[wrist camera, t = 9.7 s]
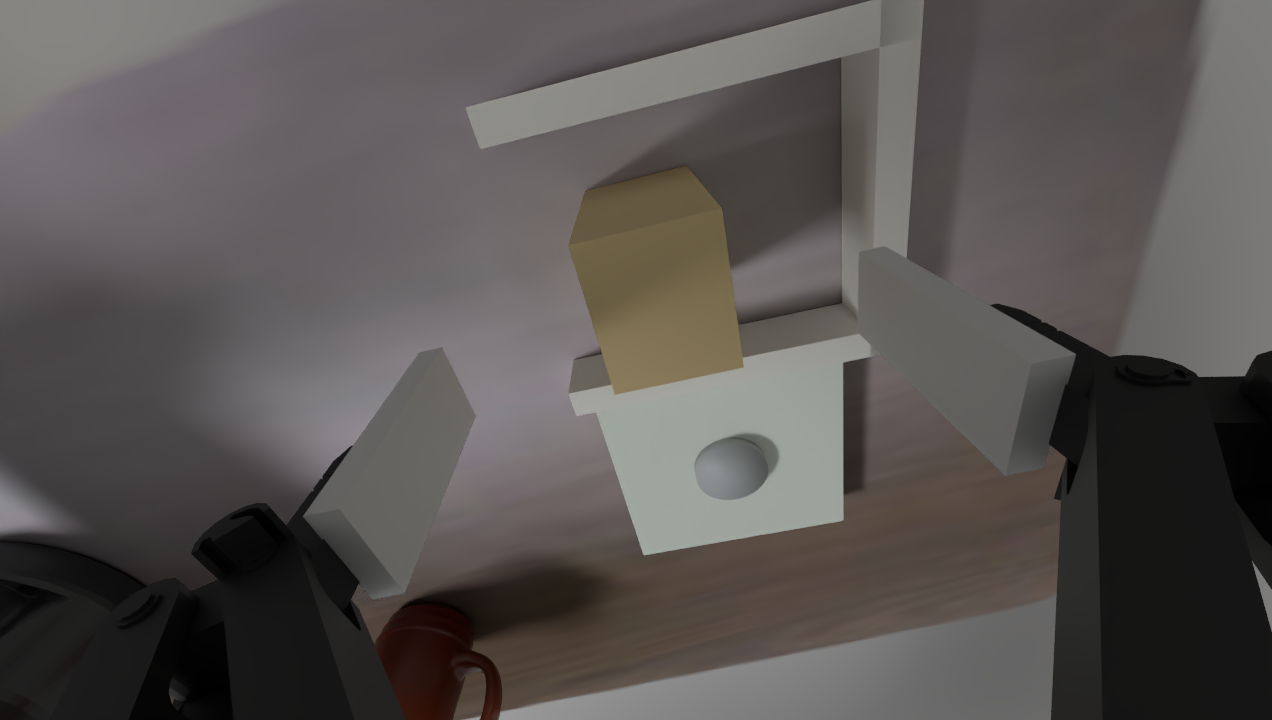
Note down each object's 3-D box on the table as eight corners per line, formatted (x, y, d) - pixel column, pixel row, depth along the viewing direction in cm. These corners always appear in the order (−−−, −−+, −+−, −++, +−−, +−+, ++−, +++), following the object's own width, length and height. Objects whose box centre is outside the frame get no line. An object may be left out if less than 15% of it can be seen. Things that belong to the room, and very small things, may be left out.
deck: (632, 534, 35) (633, 576, 32) (487, 104, 21) (465, 107, 18) (863, 492, 34) (887, 532, 31) (877, 1, 20) (925, -15, 17)
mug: (411, 658, 43) (357, 808, 34) (359, 602, 39) (281, 757, 30) (536, 634, 42) (514, 783, 33) (496, 574, 37) (458, 727, 28)
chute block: (615, 302, 26) (614, 394, 18) (585, 190, 23) (568, 245, 15) (705, 281, 26) (743, 367, 18) (686, 165, 23) (722, 208, 15)
